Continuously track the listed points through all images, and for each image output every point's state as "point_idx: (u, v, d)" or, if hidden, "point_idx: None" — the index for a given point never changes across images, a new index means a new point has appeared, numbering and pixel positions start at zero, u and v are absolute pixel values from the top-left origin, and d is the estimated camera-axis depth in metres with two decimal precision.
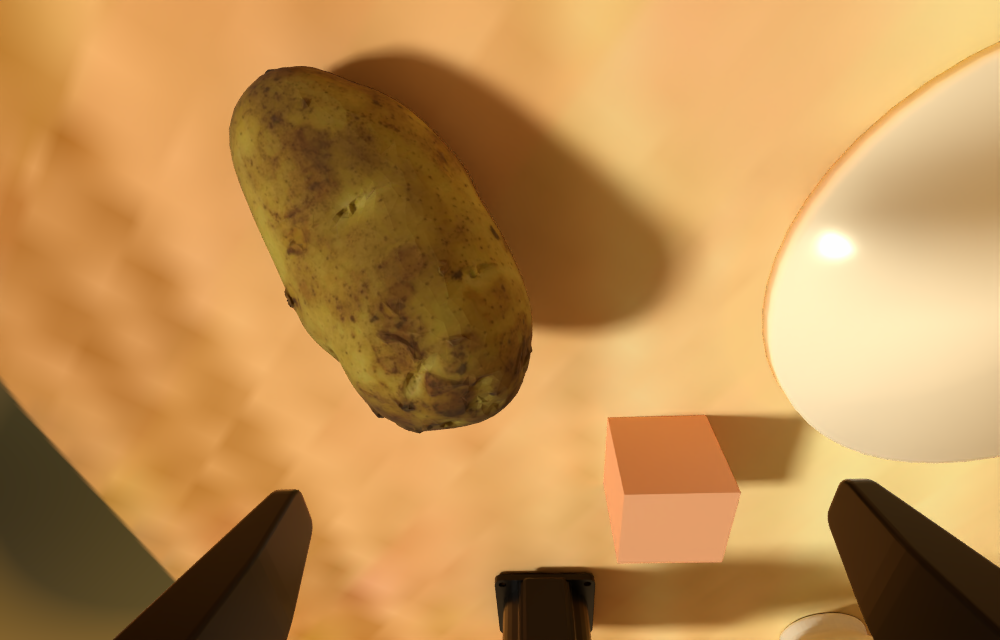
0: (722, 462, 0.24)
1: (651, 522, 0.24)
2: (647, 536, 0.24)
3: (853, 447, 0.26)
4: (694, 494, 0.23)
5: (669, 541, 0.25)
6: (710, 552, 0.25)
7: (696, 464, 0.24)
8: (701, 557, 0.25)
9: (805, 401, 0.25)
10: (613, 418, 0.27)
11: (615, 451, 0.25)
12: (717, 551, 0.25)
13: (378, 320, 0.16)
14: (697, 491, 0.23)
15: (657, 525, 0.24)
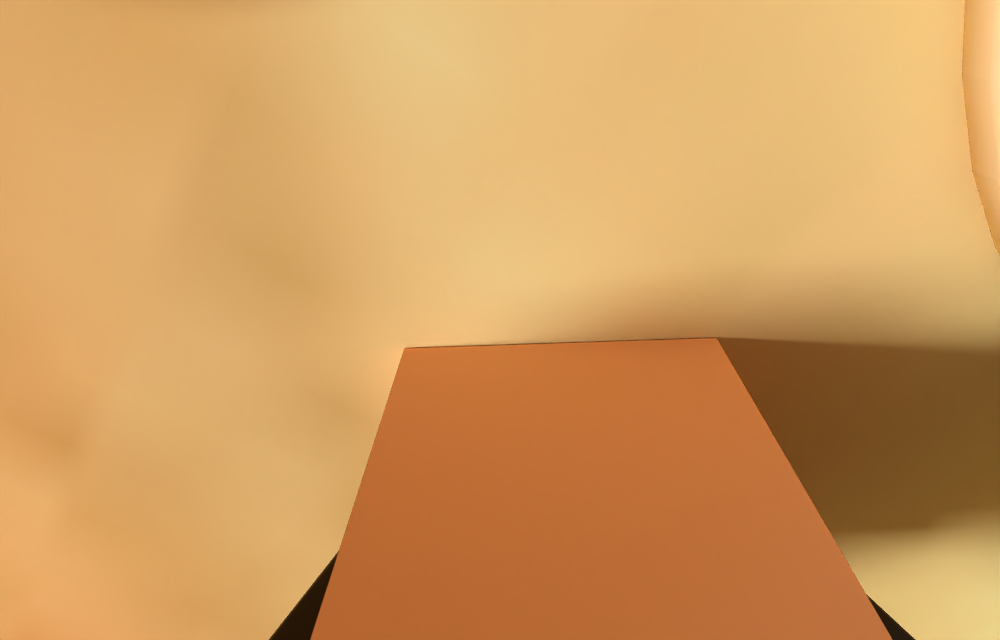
0: (796, 511, 0.05)
1: None
2: None
3: None
4: None
5: None
6: None
7: (679, 522, 0.05)
8: None
9: None
10: (420, 353, 0.08)
11: (370, 461, 0.06)
12: None
13: None
14: None
15: None
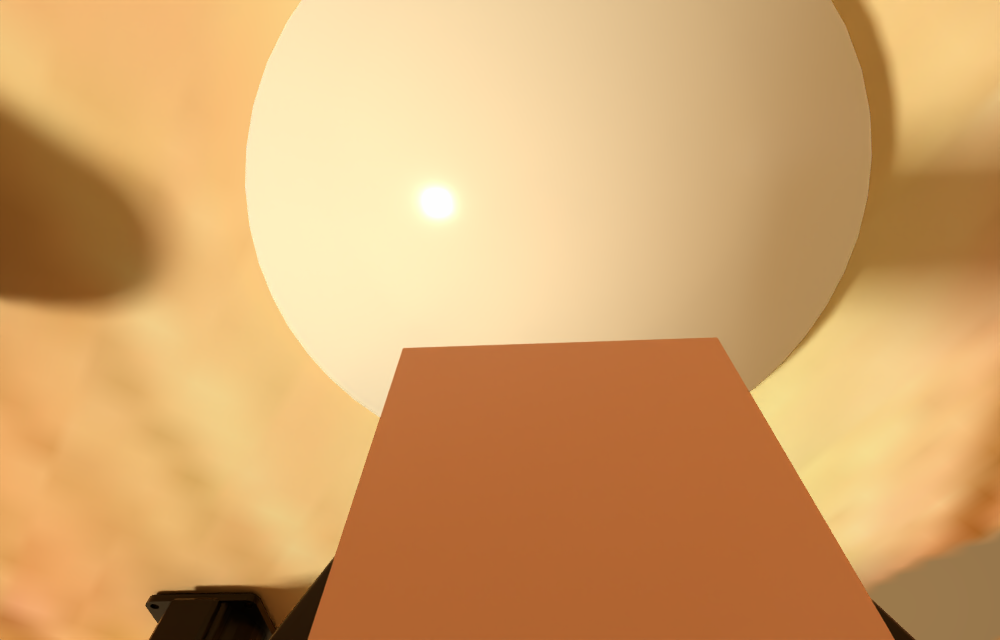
0: (798, 512, 0.05)
1: None
2: None
3: None
4: None
5: None
6: None
7: (680, 523, 0.05)
8: None
9: (360, 390, 0.21)
10: (419, 352, 0.08)
11: (368, 461, 0.06)
12: None
13: None
14: None
15: None
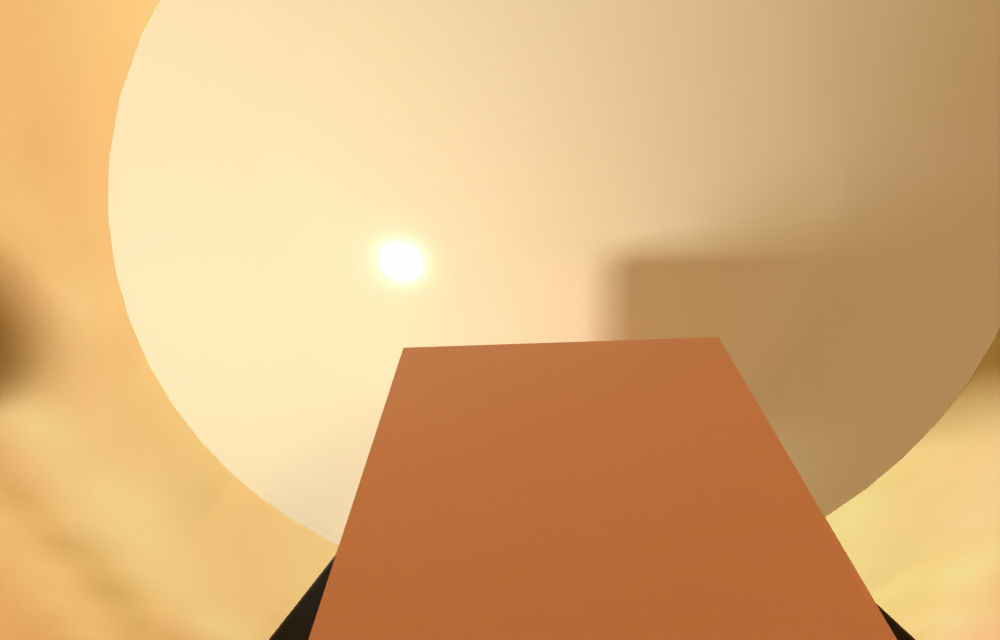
0: (800, 512, 0.05)
1: None
2: None
3: None
4: None
5: None
6: None
7: (682, 522, 0.05)
8: None
9: (303, 512, 0.16)
10: (419, 352, 0.08)
11: (368, 461, 0.06)
12: None
13: None
14: None
15: None
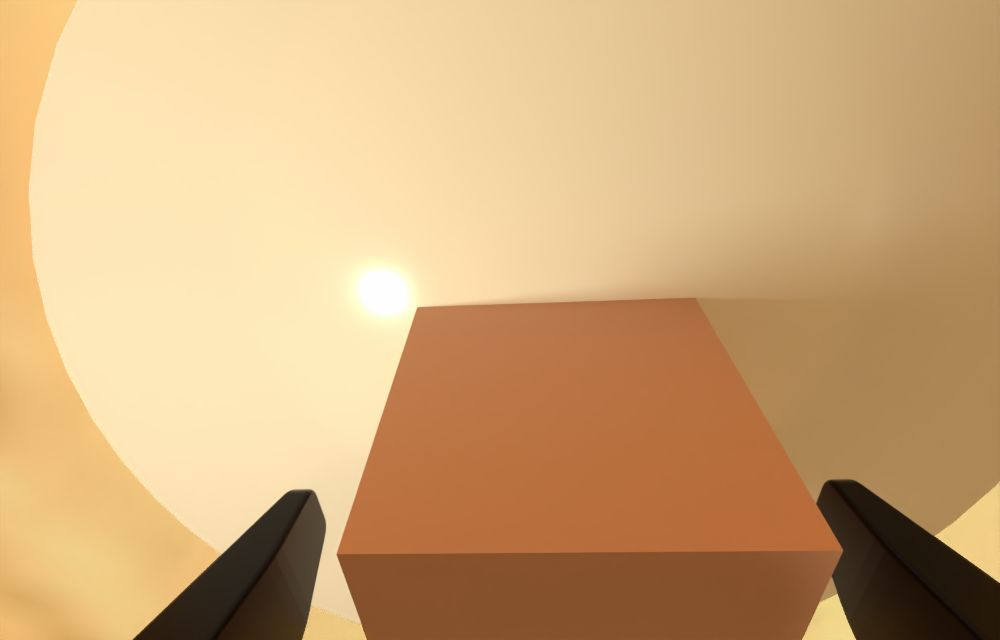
0: (752, 426, 0.07)
1: None
2: None
3: None
4: (637, 557, 0.05)
5: None
6: None
7: (653, 433, 0.07)
8: None
9: None
10: (431, 310, 0.09)
11: (391, 392, 0.08)
12: None
13: None
14: (653, 541, 0.05)
15: None
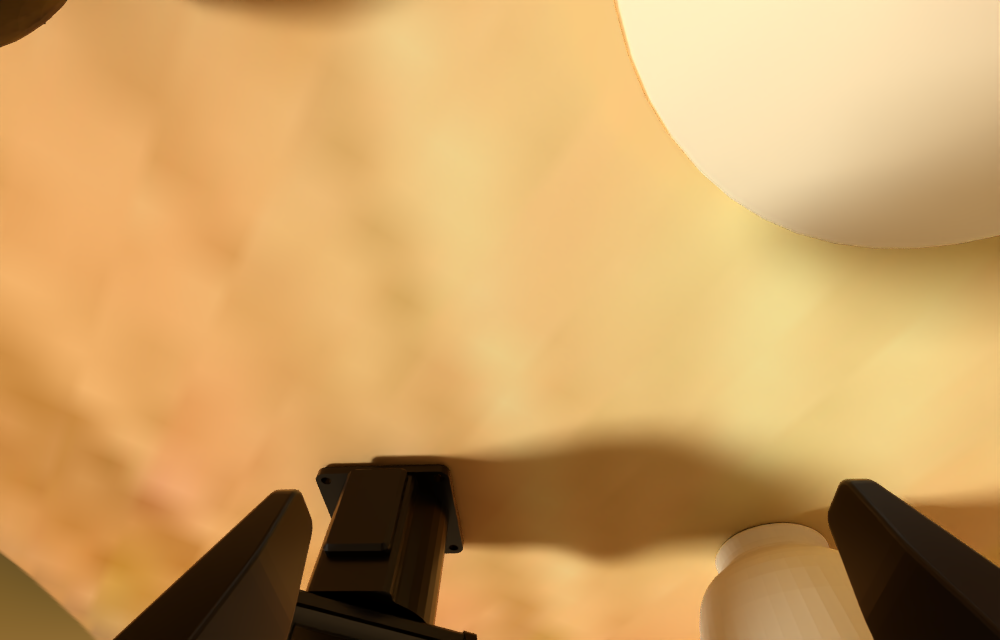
0: None
1: None
2: None
3: (779, 220, 0.16)
4: None
5: None
6: None
7: None
8: None
9: (691, 125, 0.15)
10: None
11: None
12: None
13: None
14: None
15: None
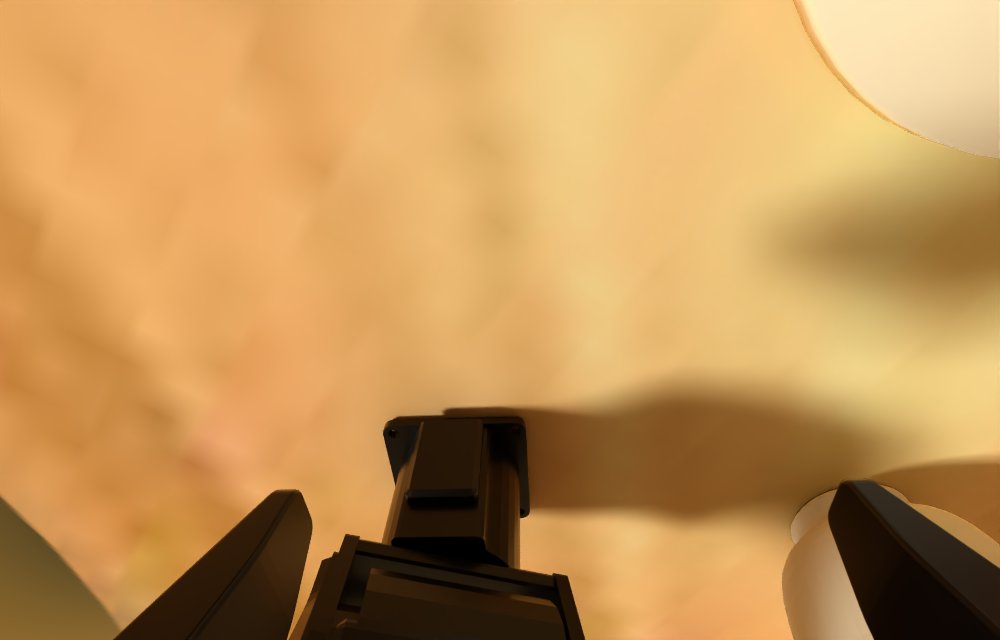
0: None
1: None
2: None
3: (921, 127, 0.16)
4: None
5: None
6: None
7: None
8: None
9: (845, 15, 0.14)
10: None
11: None
12: None
13: None
14: None
15: None
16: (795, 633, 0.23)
